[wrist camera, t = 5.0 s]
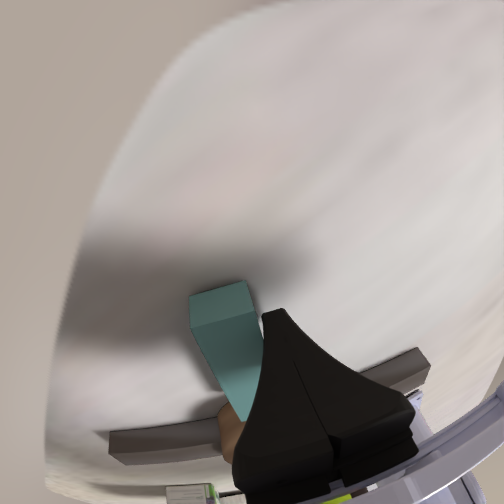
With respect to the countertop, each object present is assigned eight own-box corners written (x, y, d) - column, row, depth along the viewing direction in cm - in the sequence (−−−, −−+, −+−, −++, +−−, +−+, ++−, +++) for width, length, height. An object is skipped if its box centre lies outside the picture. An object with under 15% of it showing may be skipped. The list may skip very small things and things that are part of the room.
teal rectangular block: (276, 383, 17) (284, 410, 15) (235, 394, 16) (241, 421, 15) (245, 280, 13) (254, 310, 11) (188, 296, 12) (190, 328, 11)
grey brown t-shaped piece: (391, 420, 26) (403, 441, 23) (178, 480, 24) (180, 503, 22) (423, 327, 18) (446, 355, 15) (93, 417, 16) (89, 452, 14)
